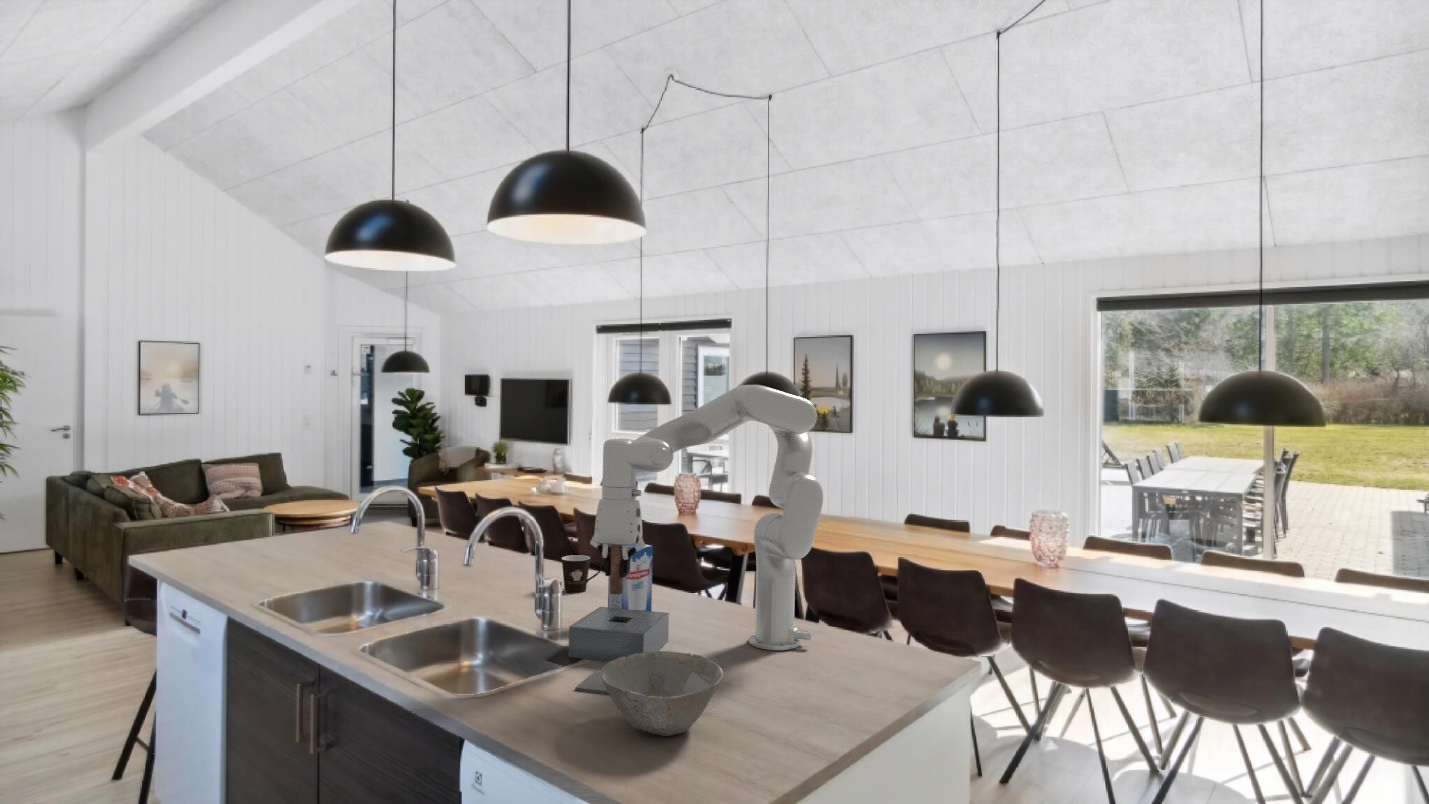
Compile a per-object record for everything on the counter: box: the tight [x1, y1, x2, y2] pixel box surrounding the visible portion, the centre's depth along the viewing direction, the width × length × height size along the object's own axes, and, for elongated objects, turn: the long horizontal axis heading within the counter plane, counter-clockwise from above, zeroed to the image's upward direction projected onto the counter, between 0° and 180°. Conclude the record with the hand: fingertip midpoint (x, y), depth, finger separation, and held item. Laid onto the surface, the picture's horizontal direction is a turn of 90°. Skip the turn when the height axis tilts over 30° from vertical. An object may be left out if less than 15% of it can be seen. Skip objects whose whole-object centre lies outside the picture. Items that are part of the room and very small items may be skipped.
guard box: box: [568, 606, 670, 663], centre depth 184 cm, size 18×18×7 cm
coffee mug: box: [561, 554, 603, 594], centre depth 238 cm, size 12×9×10 cm
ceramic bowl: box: [600, 650, 724, 737], centre depth 141 cm, size 22×23×10 cm
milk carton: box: [607, 543, 654, 611], centre depth 207 cm, size 10×6×20 cm, turn 136°
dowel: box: [610, 545, 623, 594], centre depth 175 cm, size 3×3×14 cm
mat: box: [575, 670, 610, 696], centre depth 161 cm, size 10×10×1 cm
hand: (616, 574), depth 175 cm, fingers closed on dowel, 3 cm apart
